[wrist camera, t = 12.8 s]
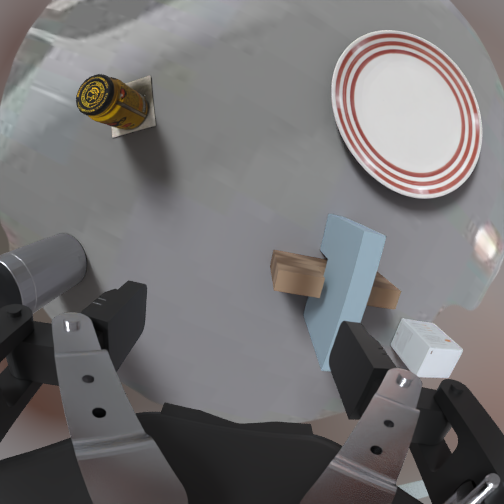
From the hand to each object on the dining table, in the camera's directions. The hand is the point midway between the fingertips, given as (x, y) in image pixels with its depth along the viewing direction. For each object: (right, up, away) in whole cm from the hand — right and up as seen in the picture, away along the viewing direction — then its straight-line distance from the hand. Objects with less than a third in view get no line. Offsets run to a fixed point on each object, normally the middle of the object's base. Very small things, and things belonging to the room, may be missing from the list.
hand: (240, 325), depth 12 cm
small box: (+29, -12, +35) cm, 47 cm away
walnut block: (+11, +1, +32) cm, 34 cm away
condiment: (-18, +25, +27) cm, 41 cm away
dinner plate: (+25, +25, +27) cm, 44 cm away
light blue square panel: (+11, +1, +32) cm, 34 cm away
